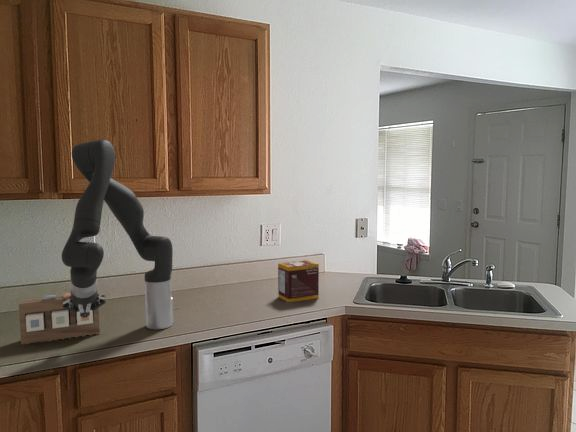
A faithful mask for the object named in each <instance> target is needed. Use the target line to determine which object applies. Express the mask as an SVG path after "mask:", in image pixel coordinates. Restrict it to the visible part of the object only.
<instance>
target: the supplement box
mask: <svg viewBox="0 0 576 432" xmlns="http://www.w3.org/2000/svg"><path fill="white" fill-rule="evenodd" d="M277 265H278V266H277V270H278V271H277V275H278V276H277V277H278V278H277V280H278V281H277V283H278V287H277V289H278V293H277V295H278V298H280V299H282V300H283V301H285V302H287V303H294V302H295V303H296V302H301V301H302V302H303V301H308V300H316V299H319V298H320V297H319V291H320V290H319V288H320V287H319V281H320V280H319V277H320V275H319V274H320V272H319V270H320V269H319V266H320V265H319V263H318V262H317V263H316V262H314V261H310V260H309V259H307V260H306V259H305V260H299V261H297V260H296V261H288V262H287V261H286V262H279V263H277Z"/></svg>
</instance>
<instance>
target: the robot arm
mask: <svg viewBox="0 0 576 432" xmlns="http://www.w3.org/2000/svg"><path fill="white" fill-rule="evenodd" d="M71 158H72V160H73V163H74V165H75V166H76V168H77V170H78V171H79V172H80V173H81V174H82V176H83V177H84V178H85V179H86V180H87V181H88V183H89V184H88V185H87V187H86V188H85V190H84V191H83V193H82V194H81V196H80V197H79V200H78V202H77V204H76V207H75V212H74V218H73V223H72V229H71V232H70V234H69V237H68V239H67V240H66V243H65V244H64V246H63V249H62V251H61V261H62V264H63V265H65V266H66V267H69V268H70V270H69V271H70V272H69V273H70V281H69V290H70V293H71V296H70V297H69V299H68V300H67V299H64V300H63V308H65V309H67V310H70V311H72V312H74V313H77V312H78V311H79V312H80V316H81V317H82V316H83V318H86V317H87V316H89V315H90V310H92V311H94V310H96V309H97V308H100V307H102V306H103V305H105V304H106V303H107V301H106V295H104V294H101V295H100V294H99V293H98V287H99V285H98V277H97V273H98V272H97V271H98V269H99V268H100V266H101V264H102V262H103V259H104V255H105V253H104V248H103V246H102V245H101V244H99V243H97V242H90V241H89V242H88V241H81V240H82V239H85V238H86V239H87V238H91V237H95V236H97V235H98V234H99V233H100V230H101V221H102V214H103V206H104V203H105V204H106V205H107V206H108V208H109V210H110V211H111V213H112V214H113V215H114V217H115V218H116V220H117V221H118V222H119V223H120V225H121V226H122V228H123V230H124V231H125V232H126V234H127V236H128V237H129V239H130V240H131V242H132V244H133V246H134V248H135V249H136V251H137V253H138V255H139V256H140V257H141V258H142V259H143V260H144V261H147V262H154V268H153V269H151V270H149V271H146V272H145V273H144V296H145V301H144V302H145V321H146V323H145V324H146V328H147V329H150V330H163V329H167V328H170V327H172V325H173V324H174V322H175V321H174V319H175V318H174V299H173V297H172V282H171V281H172V279H171V277H172V272H173V257H174V256H173V253H174V252H173V243H172V241H171V239H170V238H169V237H166V236H160V235H158V236H157V235H152V234H150V233H149V231H147V229H146V227H145V226H144V214H145V213H144V208H143V205H142V204H141V202H140V200H139V199H138V197H137V195H136V194H135V192H134V191H133V190H132V189H130V188H128V187H127V186H125V185H124V184H122V183H120V182H119V181H116V180H115V179H114V178H112V174H113V172H114V171H113V170H114V167H115V163H116V152H115V148H114V146H113V144H112V142H110V141H109V140H107V139H95V140H90V141H86V142H81V143H78V144H76V145H74V146H73V148H72V150H71ZM95 304H96V305H95ZM84 306H85V307H84ZM73 307H74V308H73Z"/></svg>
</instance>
